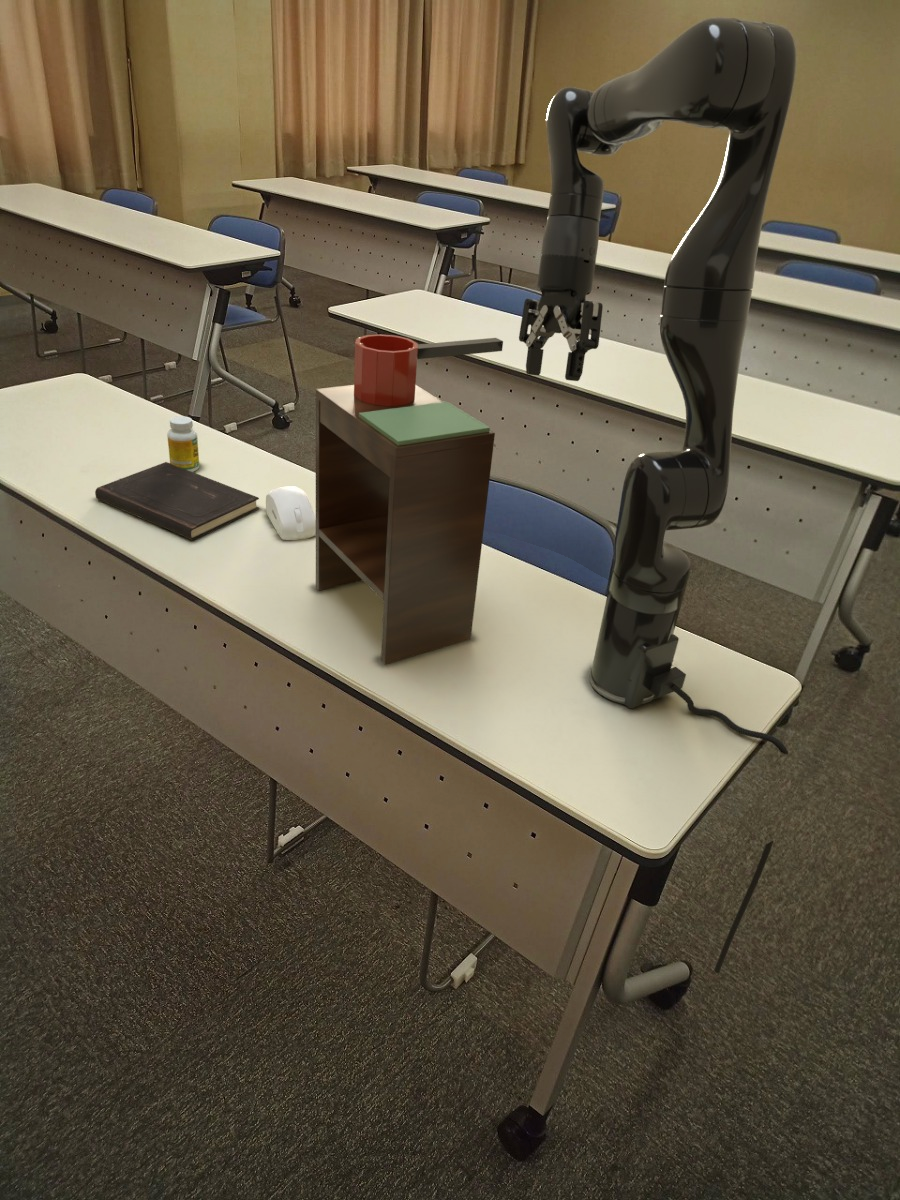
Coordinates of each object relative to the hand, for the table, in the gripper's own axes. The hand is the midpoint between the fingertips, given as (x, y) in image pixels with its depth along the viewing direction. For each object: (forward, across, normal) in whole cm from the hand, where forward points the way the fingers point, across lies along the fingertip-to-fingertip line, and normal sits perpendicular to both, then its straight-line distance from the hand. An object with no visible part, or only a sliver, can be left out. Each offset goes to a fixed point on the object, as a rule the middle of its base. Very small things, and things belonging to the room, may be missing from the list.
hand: (552, 377), depth 120 cm
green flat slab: (+7, +5, -24) cm, 26 cm away
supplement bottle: (+25, -67, -31) cm, 78 cm away
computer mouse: (+30, -38, -22) cm, 53 cm away
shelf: (+36, -7, -19) cm, 41 cm away
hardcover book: (+29, -52, -36) cm, 70 cm away
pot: (+3, -6, -17) cm, 18 cm away
